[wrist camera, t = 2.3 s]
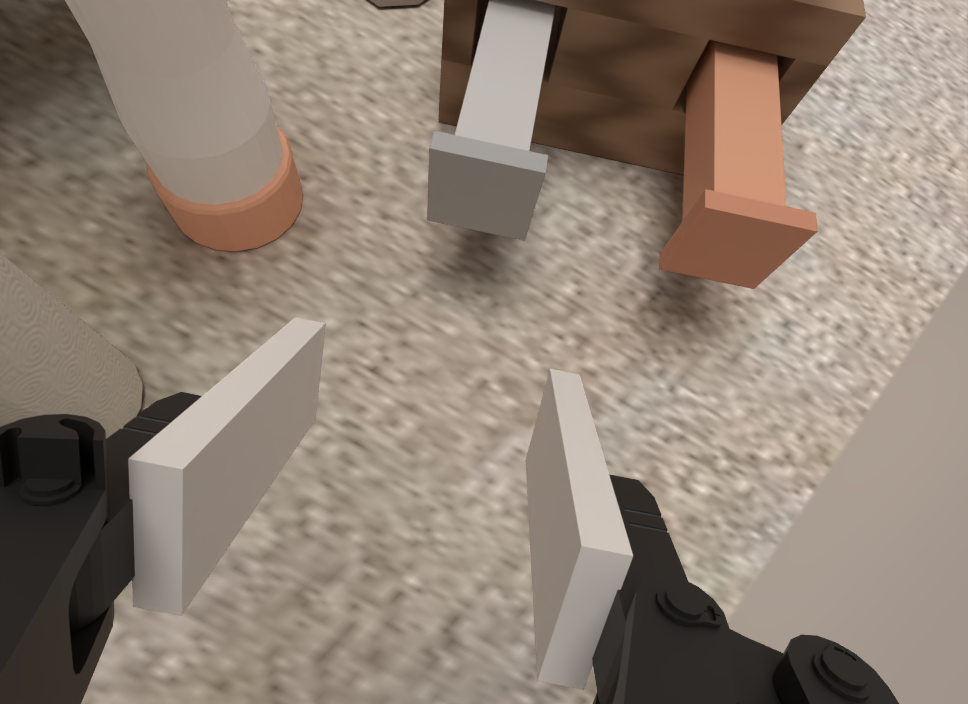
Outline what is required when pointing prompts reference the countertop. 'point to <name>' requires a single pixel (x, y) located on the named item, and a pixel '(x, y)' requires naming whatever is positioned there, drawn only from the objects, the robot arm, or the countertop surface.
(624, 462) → the countertop surface
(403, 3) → the flask
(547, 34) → the plug grey
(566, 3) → the block
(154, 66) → the salt shaker
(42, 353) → the paper towel roll
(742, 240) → the plug terracotta
